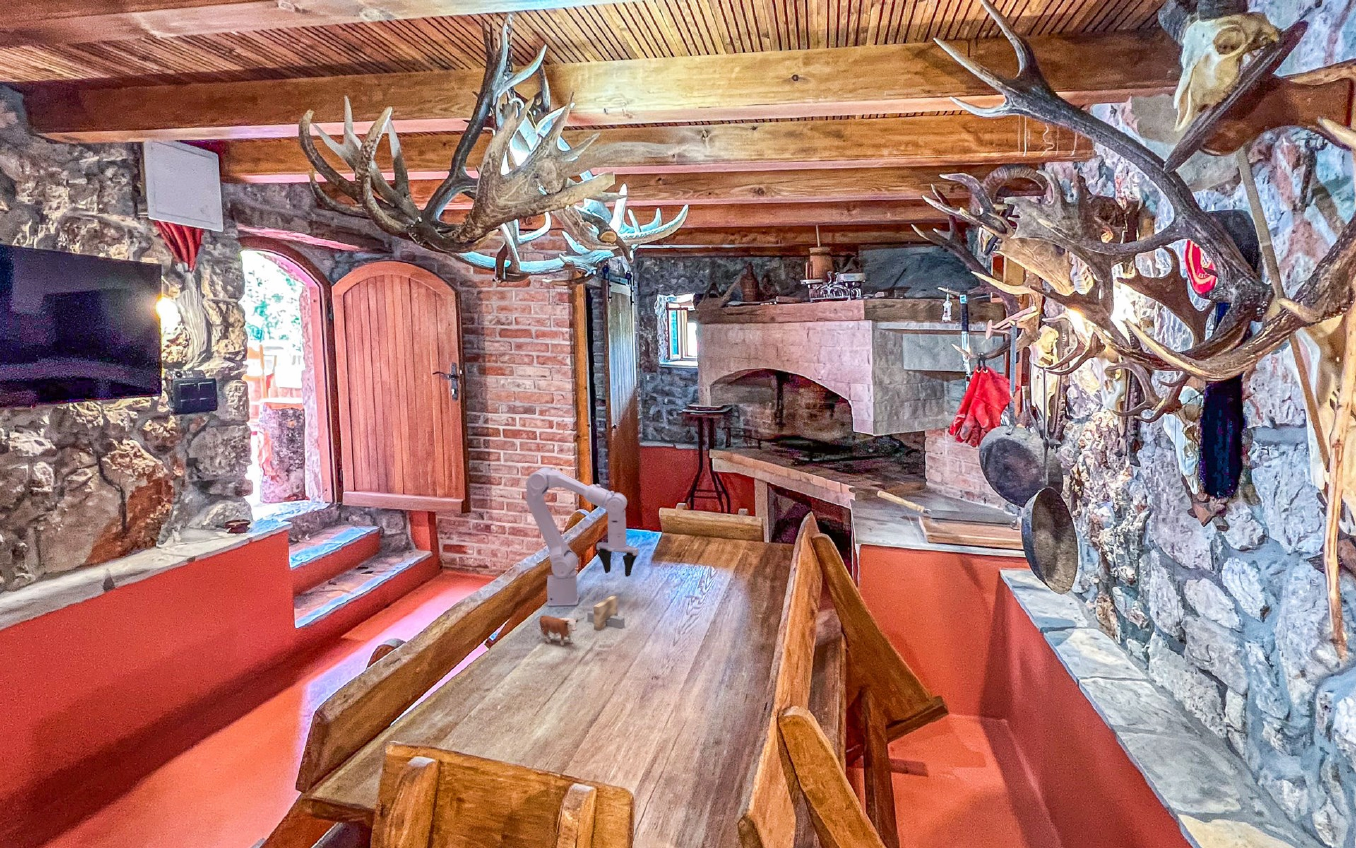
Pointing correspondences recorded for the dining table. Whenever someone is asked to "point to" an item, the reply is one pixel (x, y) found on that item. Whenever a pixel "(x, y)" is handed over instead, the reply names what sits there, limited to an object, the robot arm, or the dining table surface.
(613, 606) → the beige slab block
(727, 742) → the dining table surface
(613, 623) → the slate rail
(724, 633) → the dining table surface
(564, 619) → the bull figurine
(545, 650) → the dining table surface
